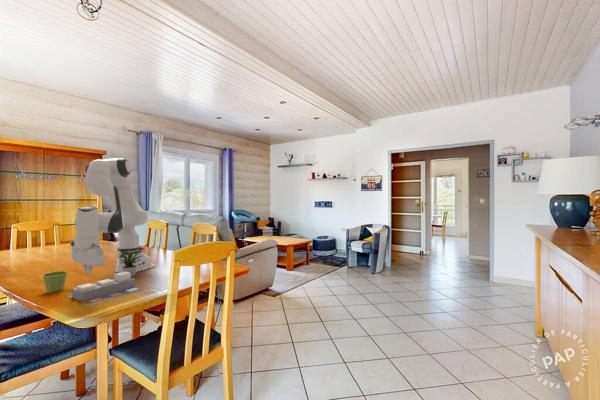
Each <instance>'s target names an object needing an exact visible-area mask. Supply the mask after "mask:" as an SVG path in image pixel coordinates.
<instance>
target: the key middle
mask: <svg viewBox="0 0 600 400" xmlns="http://www.w3.org/2000/svg"><path fill="white" fill-rule="evenodd" d="M96 283H97V285H100V286H105V285H109V284H113V283H114V280H111V279H109V278H106V279H103V280H97V281H96Z"/></svg>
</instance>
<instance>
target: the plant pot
mask: <svg viewBox="0 0 600 400" xmlns="http://www.w3.org/2000/svg"><path fill="white" fill-rule="evenodd" d="M68 273H69V272H68V271H66V270H65V271H64V270H60V271H51V272H47V273H43V274H42V275H41V276H42V278H43V281H44V285H45V289H46V293H47V294H51V293H55V292H60V291H64V289H65V284H66V277H67V275H68Z"/></svg>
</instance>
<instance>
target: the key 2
mask: <svg viewBox="0 0 600 400" xmlns="http://www.w3.org/2000/svg"><path fill="white" fill-rule="evenodd" d="M131 278H132V276H131V273H129V272H115V273H114V279H115V280H116V281H119V282H121V281H125V280H129V279H131Z"/></svg>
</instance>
